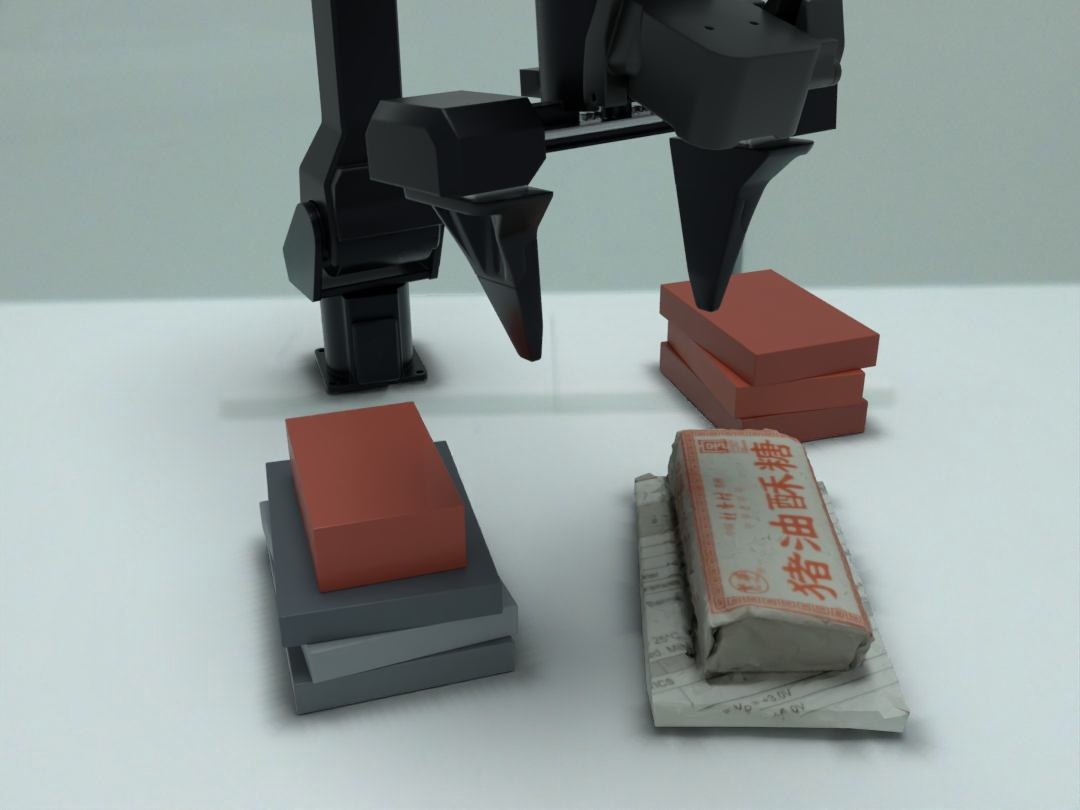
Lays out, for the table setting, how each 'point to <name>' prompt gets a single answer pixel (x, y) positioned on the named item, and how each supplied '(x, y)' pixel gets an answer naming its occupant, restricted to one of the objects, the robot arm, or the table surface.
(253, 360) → the table surface
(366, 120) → the robot arm
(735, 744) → the table surface
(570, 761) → the table surface
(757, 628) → the packaged product
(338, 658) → the grey book pile
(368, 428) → the rust red block
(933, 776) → the table surface
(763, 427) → the rust book pile
